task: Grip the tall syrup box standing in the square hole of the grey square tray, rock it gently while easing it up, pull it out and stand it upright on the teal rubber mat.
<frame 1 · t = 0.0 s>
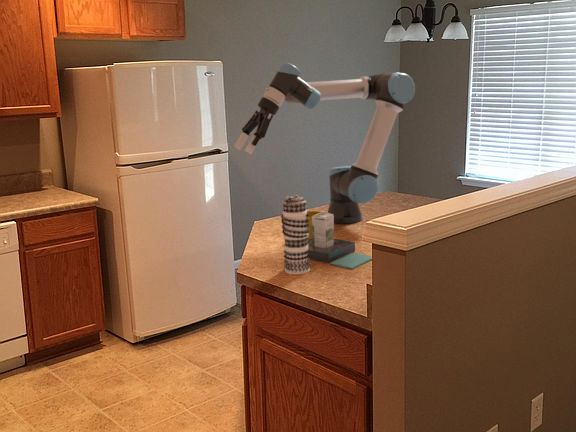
hand: (242, 150, 236), 36 cm above the worktop, tool tilted 35°, fingers open, 13 cm apart
mat: (353, 261, 217), on the worktop
syrup box: (323, 254, 227), resting in grey square tray
plant pot: (312, 238, 247), on the worktop
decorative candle: (297, 270, 211), on the worktop
grey square tray: (323, 253, 227), on the worktop
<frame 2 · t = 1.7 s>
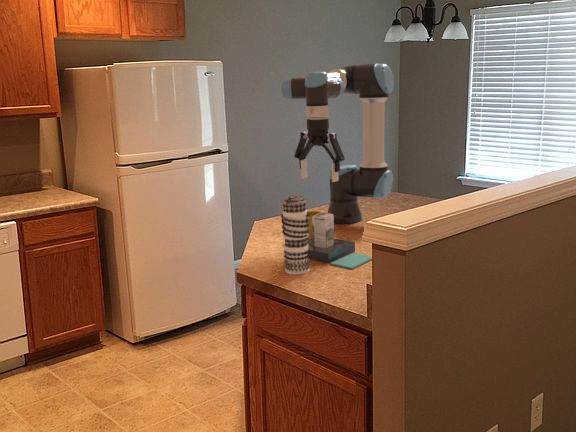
hand: (319, 179, 221), 27 cm above the worktop, tool pointing down, fingers open, 13 cm apart
nothing on the worktop moved.
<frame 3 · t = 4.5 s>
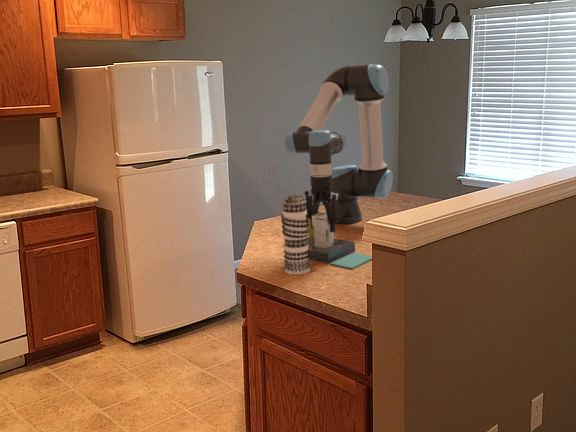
hand: (323, 239, 226), 5 cm above the worktop, tool pointing down, fingers closed on syrup box, 6 cm apart
syrup box: (323, 254, 227), resting in grey square tray, touching gripper
everything else where it was.
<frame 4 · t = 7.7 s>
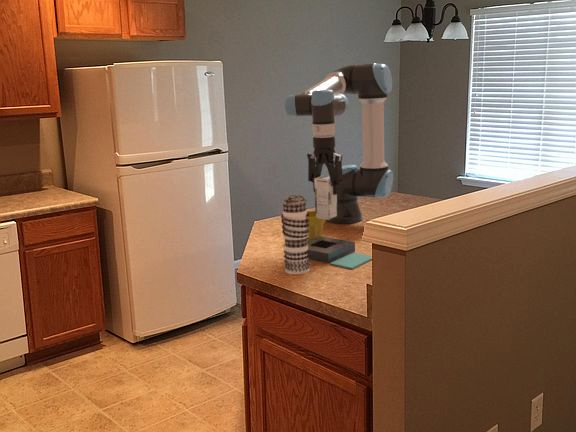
hand: (326, 202, 221), 19 cm above the worktop, tool pointing down, fingers closed on syrup box, 6 cm apart
syrup box: (326, 218, 222), point 13 cm above the worktop, touching gripper
everything else where it was.
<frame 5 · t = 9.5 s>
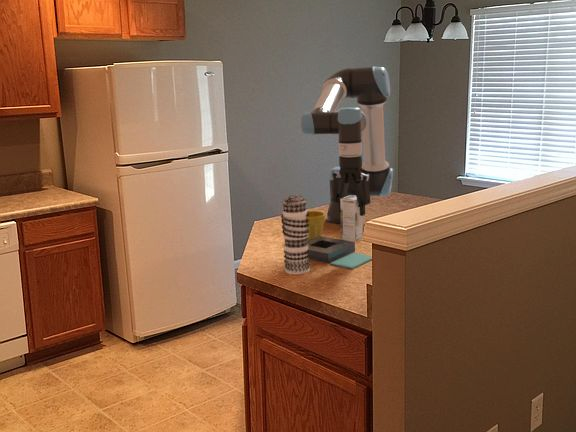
hand: (352, 223, 213), 14 cm above the worktop, tool pointing down, fingers closed on syrup box, 6 cm apart
syrup box: (352, 239, 215), point 8 cm above the worktop, touching gripper
everything else where it was.
when the fingers open (7 cm above the worktop, at t = 10.9 s): syrup box drops 1 cm, resting on mat.
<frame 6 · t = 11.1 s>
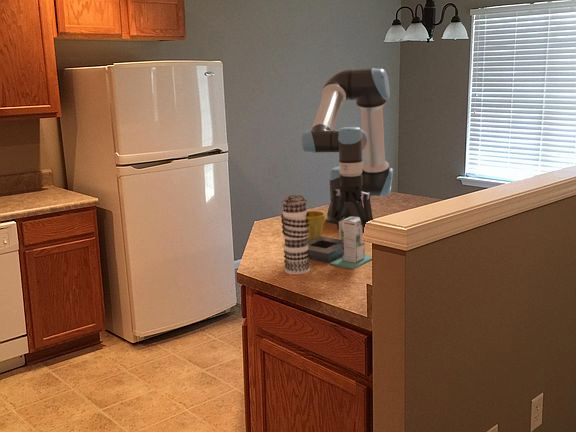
hand: (352, 240, 215), 7 cm above the worktop, tool pointing down, fingers open, 8 cm apart
syrup box: (353, 260, 216), resting on mat
everything else where it was.
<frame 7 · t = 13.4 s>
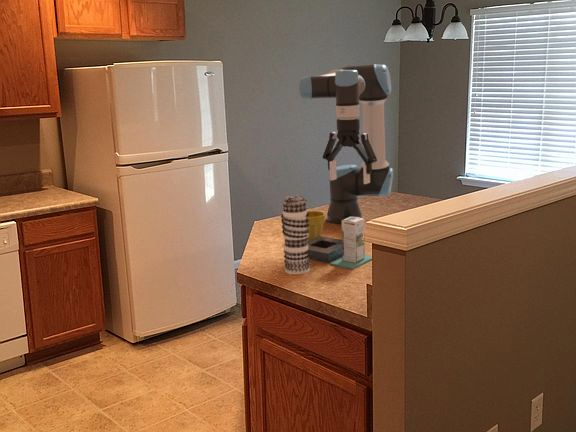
hand: (349, 181, 213), 27 cm above the worktop, tool pointing down, fingers open, 13 cm apart
nothing on the worktop moved.
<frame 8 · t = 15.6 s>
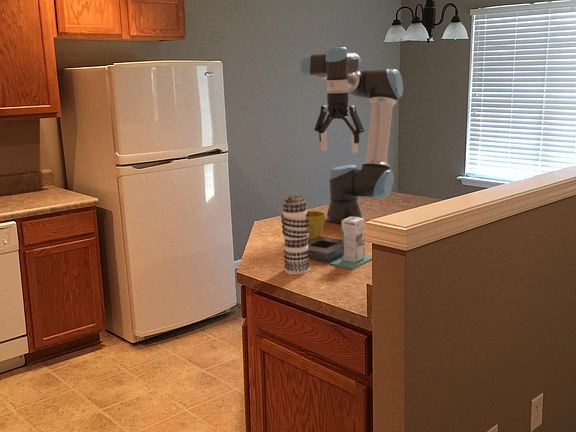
hand: (339, 151, 230), 35 cm above the worktop, tool pointing down, fingers open, 13 cm apart
nothing on the worktop moved.
at the end: syrup box inside the target area on the mat (0.2 cm from its centre), point 0.4 cm above the mat's base; syrup box tilted 0°; the gripper is holding nothing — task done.
